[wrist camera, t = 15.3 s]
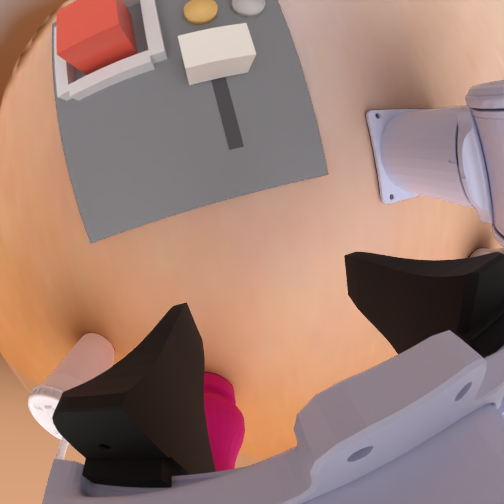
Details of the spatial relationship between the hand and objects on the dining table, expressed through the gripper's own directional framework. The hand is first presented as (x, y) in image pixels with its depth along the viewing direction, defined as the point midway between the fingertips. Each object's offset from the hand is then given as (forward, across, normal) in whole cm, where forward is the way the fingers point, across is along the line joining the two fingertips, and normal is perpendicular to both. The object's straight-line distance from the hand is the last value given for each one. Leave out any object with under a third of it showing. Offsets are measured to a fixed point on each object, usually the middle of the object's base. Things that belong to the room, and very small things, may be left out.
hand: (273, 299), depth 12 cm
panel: (+9, +2, -14) cm, 17 cm away
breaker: (+8, -1, -13) cm, 15 cm away
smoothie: (+10, +16, +6) cm, 20 cm away
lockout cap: (+8, +6, -18) cm, 20 cm away
